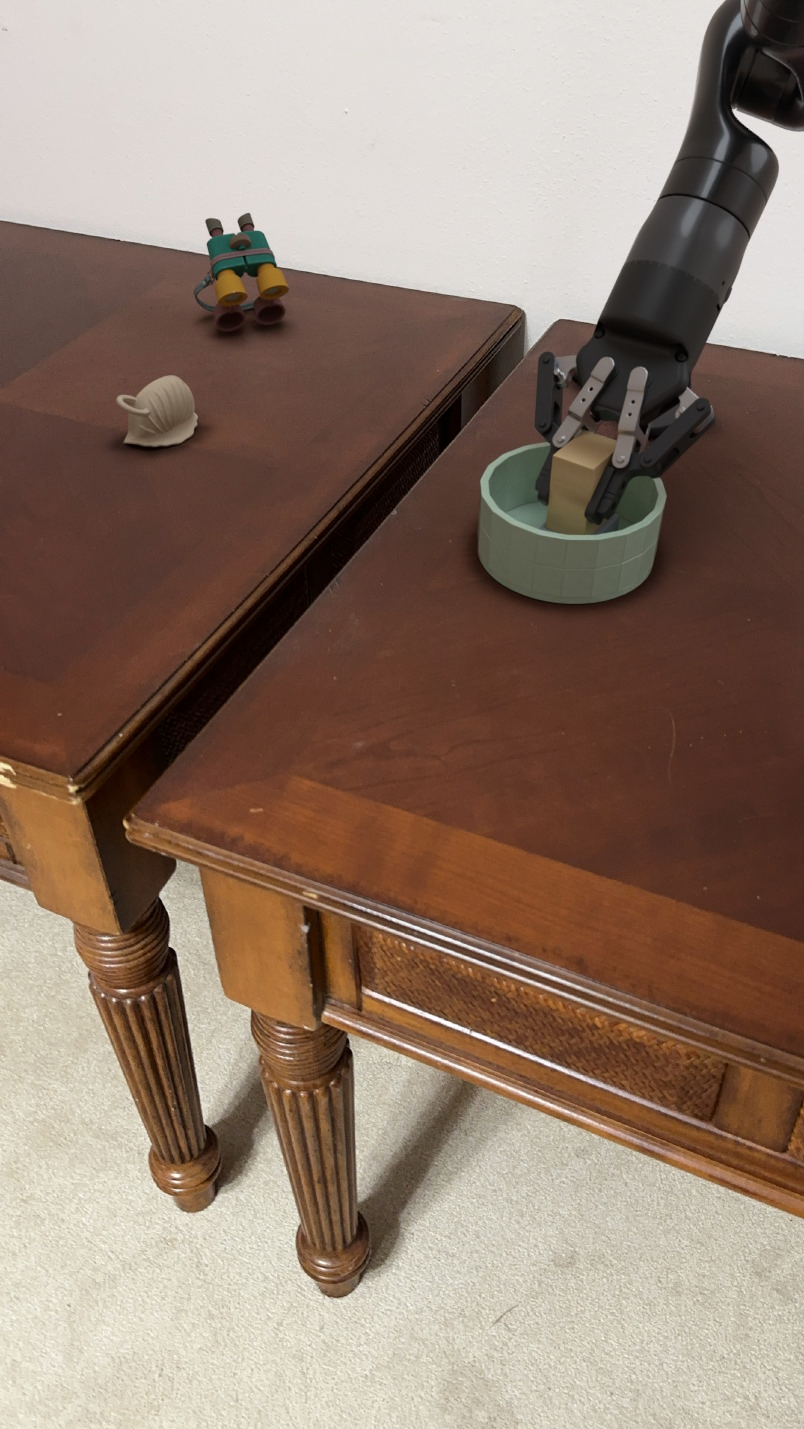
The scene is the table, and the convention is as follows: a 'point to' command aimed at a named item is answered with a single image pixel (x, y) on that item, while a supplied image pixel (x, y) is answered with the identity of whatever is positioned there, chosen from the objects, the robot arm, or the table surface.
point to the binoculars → (230, 265)
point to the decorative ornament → (160, 413)
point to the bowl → (562, 536)
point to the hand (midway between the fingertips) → (568, 511)
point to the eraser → (578, 485)
